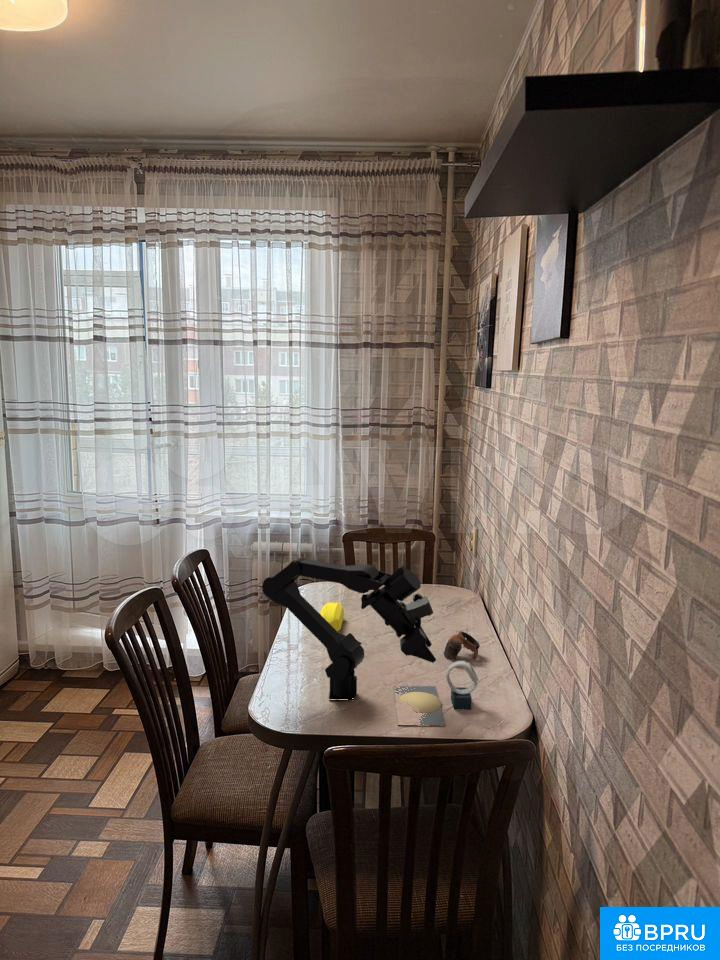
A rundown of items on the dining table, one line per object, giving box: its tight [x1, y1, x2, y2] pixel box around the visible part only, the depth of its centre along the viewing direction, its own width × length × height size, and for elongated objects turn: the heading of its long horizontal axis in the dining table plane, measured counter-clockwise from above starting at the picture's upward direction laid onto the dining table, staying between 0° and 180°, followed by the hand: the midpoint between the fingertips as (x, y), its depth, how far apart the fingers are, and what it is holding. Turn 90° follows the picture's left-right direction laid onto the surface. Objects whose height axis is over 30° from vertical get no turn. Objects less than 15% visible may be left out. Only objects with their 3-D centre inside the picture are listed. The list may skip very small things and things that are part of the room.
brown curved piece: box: [443, 631, 481, 661], centre depth 191 cm, size 12×10×8 cm
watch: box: [445, 660, 480, 711], centre depth 163 cm, size 6×8×11 cm
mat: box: [393, 685, 446, 727], centre depth 163 cm, size 12×20×1 cm, turn 0°
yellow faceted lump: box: [319, 601, 345, 633], centre depth 216 cm, size 18×7×8 cm
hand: (432, 653), depth 162 cm, fingers open, 9 cm apart
